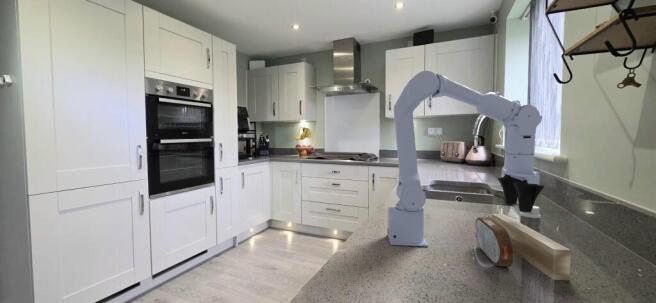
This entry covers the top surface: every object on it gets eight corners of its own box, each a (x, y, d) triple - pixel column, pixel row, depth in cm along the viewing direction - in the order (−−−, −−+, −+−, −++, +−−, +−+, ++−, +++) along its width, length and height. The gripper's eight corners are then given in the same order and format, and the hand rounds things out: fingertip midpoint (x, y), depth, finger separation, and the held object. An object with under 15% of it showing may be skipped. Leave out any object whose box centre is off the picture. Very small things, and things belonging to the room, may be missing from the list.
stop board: (552, 279, 51) (553, 249, 51) (491, 234, 75) (492, 213, 75) (569, 280, 51) (570, 250, 51) (502, 234, 75) (503, 214, 74)
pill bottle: (544, 239, 71) (545, 209, 71) (524, 238, 72) (525, 208, 72) (534, 233, 76) (535, 204, 75) (515, 232, 77) (516, 203, 76)
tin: (514, 274, 53) (516, 233, 53) (497, 273, 54) (499, 232, 54) (486, 244, 68) (487, 212, 68) (472, 243, 69) (473, 212, 68)
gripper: (556, 156, 58) (553, 217, 59) (523, 152, 72) (521, 201, 73) (519, 155, 59) (517, 215, 60) (494, 152, 74) (493, 200, 74)
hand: (517, 207), depth 67 cm, fingers open, 7 cm apart
